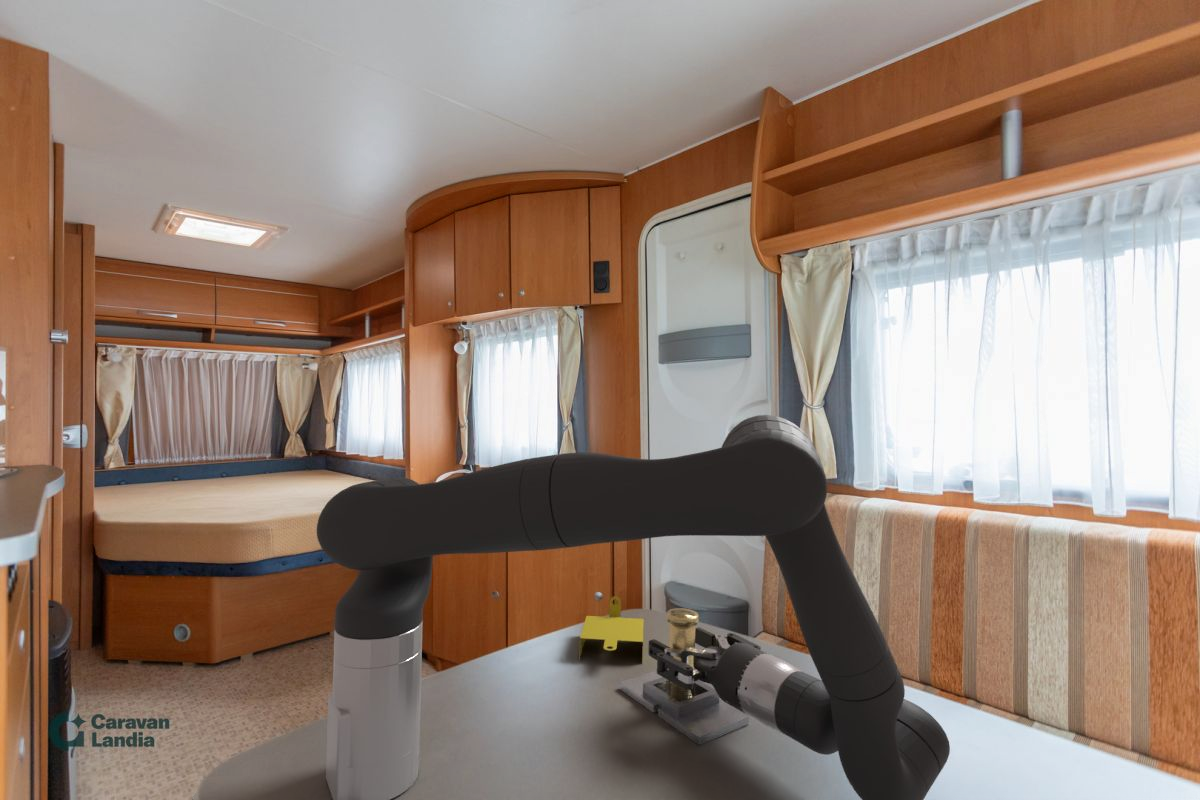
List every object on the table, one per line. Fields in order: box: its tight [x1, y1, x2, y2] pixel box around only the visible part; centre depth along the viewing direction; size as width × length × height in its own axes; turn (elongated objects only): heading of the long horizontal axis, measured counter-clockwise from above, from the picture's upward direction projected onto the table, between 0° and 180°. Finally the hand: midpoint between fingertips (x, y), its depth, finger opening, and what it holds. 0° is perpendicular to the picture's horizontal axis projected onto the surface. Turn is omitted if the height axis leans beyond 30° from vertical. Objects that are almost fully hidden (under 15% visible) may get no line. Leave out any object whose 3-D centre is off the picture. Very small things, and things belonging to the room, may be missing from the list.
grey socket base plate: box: [618, 670, 750, 746], centre depth 82 cm, size 9×17×2 cm, turn 34°
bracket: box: [578, 596, 645, 664], centre depth 99 cm, size 16×8×15 cm
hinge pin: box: [666, 607, 699, 702], centre depth 82 cm, size 4×4×12 cm
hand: (673, 640), depth 84 cm, fingers open, 8 cm apart
